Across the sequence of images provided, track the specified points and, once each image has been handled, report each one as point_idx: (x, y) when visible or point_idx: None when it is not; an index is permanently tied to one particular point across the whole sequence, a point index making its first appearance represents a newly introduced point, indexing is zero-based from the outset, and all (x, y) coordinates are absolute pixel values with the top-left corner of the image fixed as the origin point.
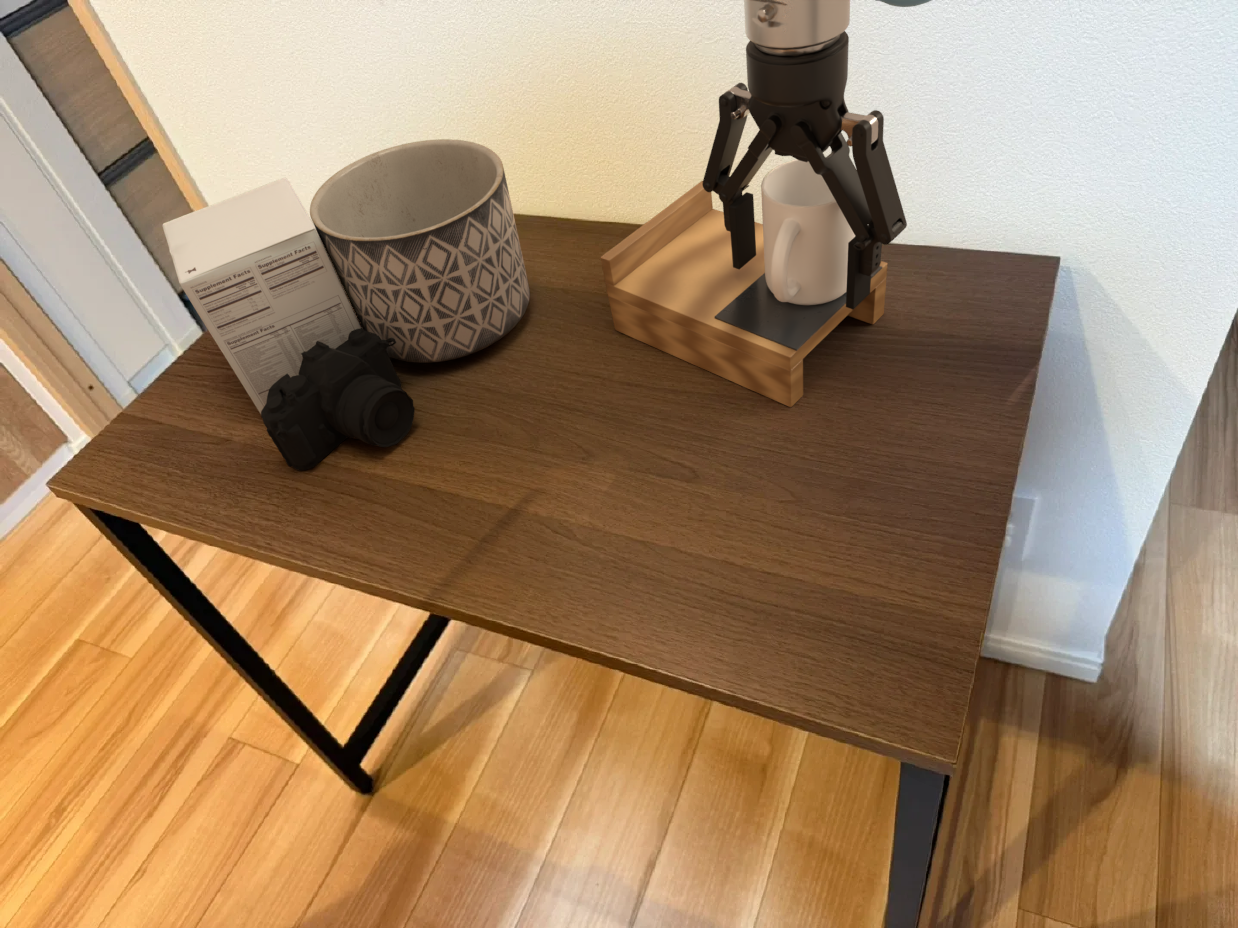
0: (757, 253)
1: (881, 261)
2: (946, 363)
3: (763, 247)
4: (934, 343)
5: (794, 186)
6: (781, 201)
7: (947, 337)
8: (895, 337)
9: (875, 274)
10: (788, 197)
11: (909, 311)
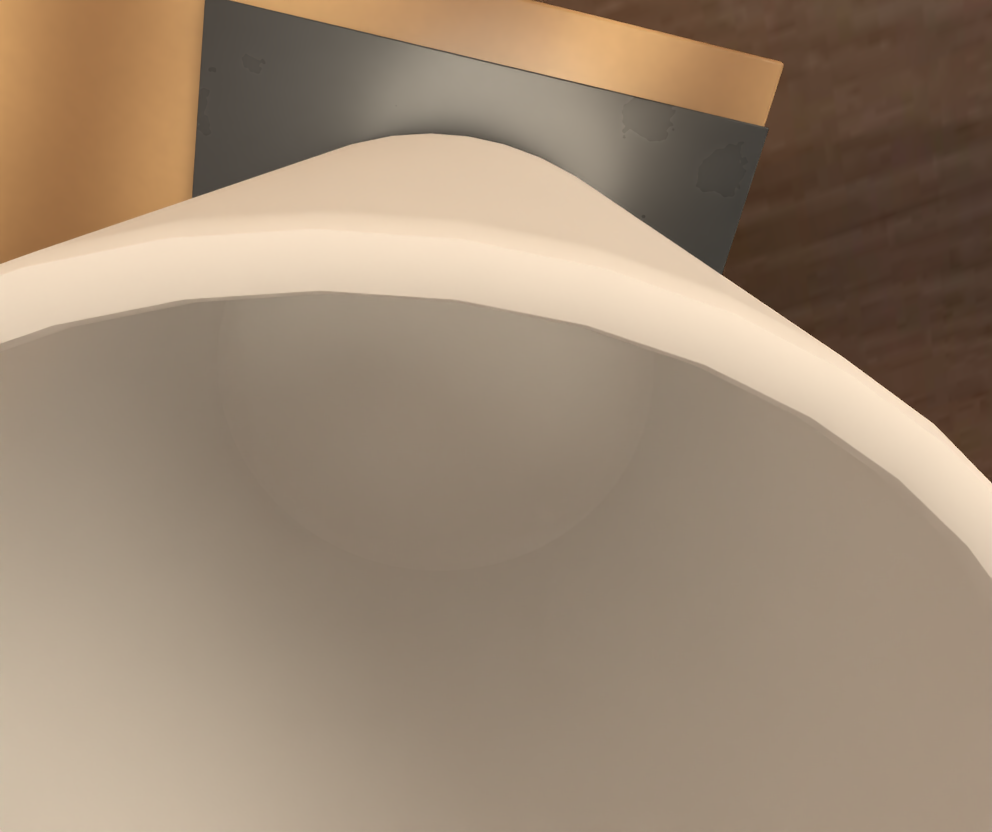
0: (28, 198)
1: (746, 56)
2: (954, 292)
3: (20, 122)
4: (905, 197)
5: (21, 361)
6: (16, 444)
7: (949, 144)
8: (760, 209)
9: (743, 204)
10: (42, 378)
11: (784, 17)
